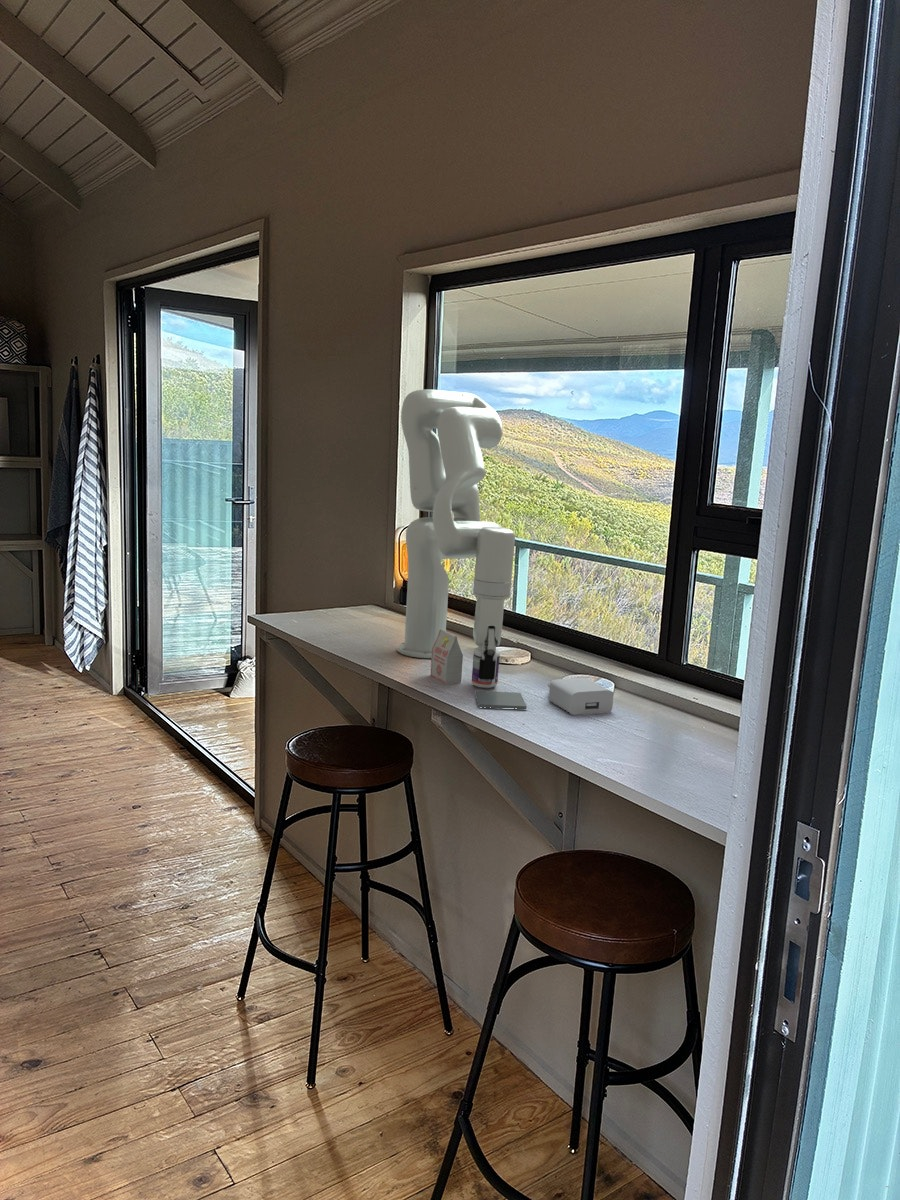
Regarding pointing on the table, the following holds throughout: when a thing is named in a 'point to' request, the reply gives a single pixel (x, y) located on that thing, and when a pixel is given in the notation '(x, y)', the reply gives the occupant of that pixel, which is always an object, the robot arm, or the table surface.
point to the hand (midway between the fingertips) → (485, 673)
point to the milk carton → (446, 659)
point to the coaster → (500, 699)
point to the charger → (580, 696)
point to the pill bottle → (475, 671)
